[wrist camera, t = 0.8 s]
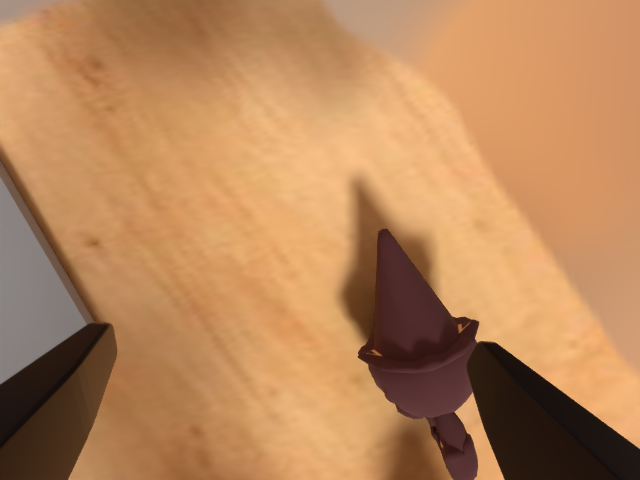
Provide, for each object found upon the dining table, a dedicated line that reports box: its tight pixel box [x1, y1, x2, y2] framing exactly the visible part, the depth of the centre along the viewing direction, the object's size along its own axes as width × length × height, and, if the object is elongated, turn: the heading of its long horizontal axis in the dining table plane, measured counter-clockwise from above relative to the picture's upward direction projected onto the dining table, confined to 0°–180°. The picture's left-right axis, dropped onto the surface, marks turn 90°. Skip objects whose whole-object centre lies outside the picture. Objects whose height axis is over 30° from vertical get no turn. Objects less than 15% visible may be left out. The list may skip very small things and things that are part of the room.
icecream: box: [358, 229, 479, 480], centre depth 21 cm, size 7×7×15 cm
